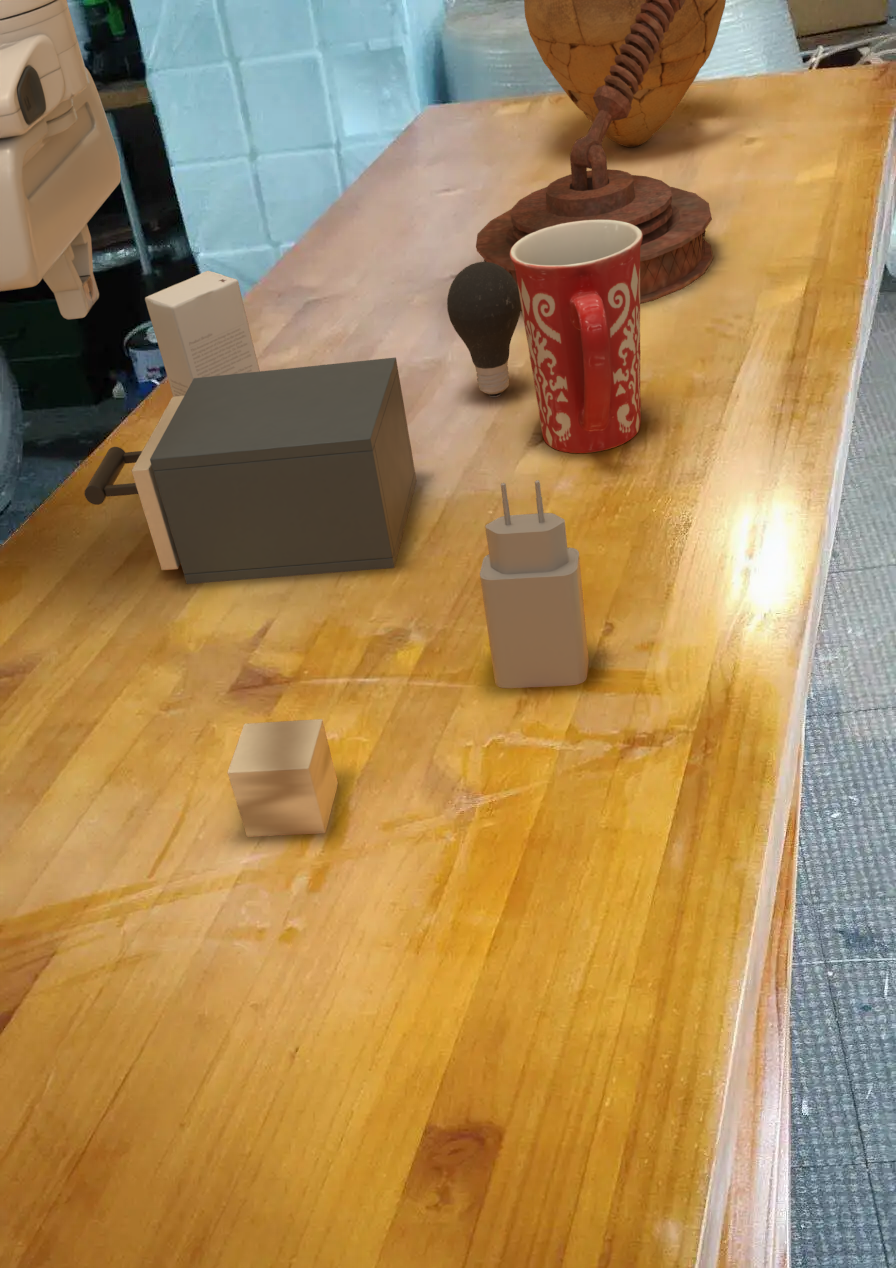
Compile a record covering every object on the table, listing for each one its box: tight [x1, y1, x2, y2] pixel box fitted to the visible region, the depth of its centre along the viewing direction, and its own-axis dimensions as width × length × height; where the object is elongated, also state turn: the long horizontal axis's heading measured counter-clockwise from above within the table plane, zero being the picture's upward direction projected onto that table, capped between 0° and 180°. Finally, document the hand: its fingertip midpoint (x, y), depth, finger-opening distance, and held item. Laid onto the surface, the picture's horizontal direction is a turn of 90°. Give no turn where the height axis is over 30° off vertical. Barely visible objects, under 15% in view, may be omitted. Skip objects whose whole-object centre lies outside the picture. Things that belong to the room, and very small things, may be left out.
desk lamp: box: [475, 0, 714, 312], centre depth 118 cm, size 21×32×40 cm, turn 132°
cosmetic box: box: [144, 270, 261, 397], centre depth 113 cm, size 6×4×12 cm
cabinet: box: [150, 357, 417, 585], centre depth 101 cm, size 15×13×9 cm
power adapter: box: [479, 479, 590, 689], centre depth 82 cm, size 3×5×12 cm, turn 82°
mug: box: [510, 220, 643, 454], centre depth 103 cm, size 13×9×14 cm
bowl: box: [523, 0, 727, 148], centre depth 151 cm, size 21×20×20 cm
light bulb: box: [446, 261, 522, 398], centre depth 112 cm, size 6×6×10 cm
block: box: [227, 718, 339, 838], centre depth 79 cm, size 4×4×4 cm
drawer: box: [84, 396, 184, 571], centre depth 101 cm, size 18×11×7 cm, turn 84°
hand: (82, 310), depth 94 cm, fingers closed
